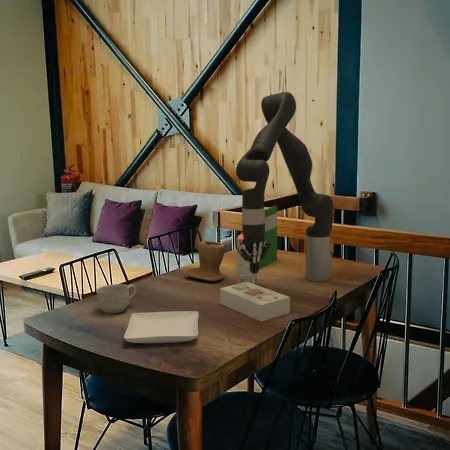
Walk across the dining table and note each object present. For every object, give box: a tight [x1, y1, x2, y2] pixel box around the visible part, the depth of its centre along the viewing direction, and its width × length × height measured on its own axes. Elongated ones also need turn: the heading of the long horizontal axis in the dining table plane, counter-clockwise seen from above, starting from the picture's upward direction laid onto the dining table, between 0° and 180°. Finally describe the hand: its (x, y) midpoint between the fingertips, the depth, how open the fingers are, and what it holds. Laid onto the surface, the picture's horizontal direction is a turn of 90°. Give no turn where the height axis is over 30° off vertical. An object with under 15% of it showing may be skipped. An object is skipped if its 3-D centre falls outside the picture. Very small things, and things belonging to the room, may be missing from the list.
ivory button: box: [261, 294, 274, 301], centre depth 186 cm, size 4×4×3 cm
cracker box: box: [236, 232, 258, 285], centre depth 210 cm, size 14×6×21 cm, turn 168°
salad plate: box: [123, 310, 200, 344], centre depth 172 cm, size 21×21×3 cm
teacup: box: [95, 283, 137, 314], centre depth 192 cm, size 14×11×8 cm
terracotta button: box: [247, 289, 261, 296], centre depth 191 cm, size 4×4×3 cm
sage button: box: [234, 283, 247, 291], centre depth 197 cm, size 4×4×3 cm
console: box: [219, 282, 291, 323], centre depth 191 cm, size 12×22×6 cm, turn 36°
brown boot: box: [183, 240, 226, 282], centre depth 226 cm, size 15×12×15 cm
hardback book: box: [259, 205, 278, 271], centre depth 245 cm, size 18×7×24 cm, turn 150°
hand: (254, 272), depth 189 cm, fingers closed
